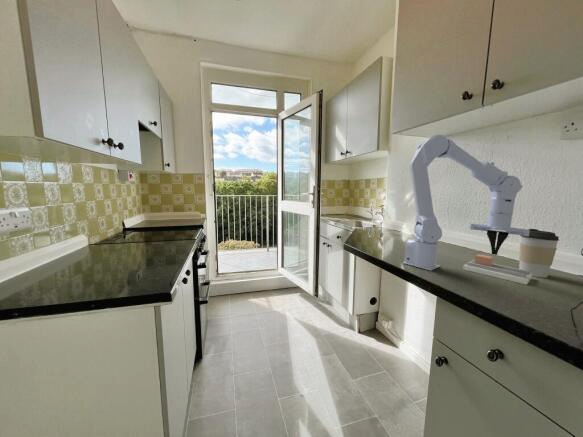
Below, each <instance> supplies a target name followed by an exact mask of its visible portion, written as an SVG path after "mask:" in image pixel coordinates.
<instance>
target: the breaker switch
mask: <svg viewBox="0 0 583 437" xmlns="http://www.w3.org/2000/svg"><path fill="white" fill-rule="evenodd" d="M474 260H475V263H476V264H481V265H485V266H490V267H492V264H494V263H493V262H494V256H489V255H484V254H477V255H475V259H474Z"/></svg>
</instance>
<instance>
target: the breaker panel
mask: <svg viewBox="0 0 583 437" xmlns="http://www.w3.org/2000/svg"><path fill="white" fill-rule="evenodd" d="M462 269H463V270H465V271H468V272H473V273H475V274H481V275H484V276H489V277H493V278H497V279H502V280H506V281H511V282H514V283H519V284H523V285H525V286H526V285H528V284H529V283H530V281H531V280H532V278H533V276H532V274H530V271H526V270H521V269H519V268H516V267H511V266H506V265H501V264H498V263H497V264H496V263H492V267H490V266H485V265H481V264H476V263H475V259H471V261H467V262H466V263H464V264H463V267H462Z"/></svg>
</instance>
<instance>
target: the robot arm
mask: <svg viewBox="0 0 583 437" xmlns="http://www.w3.org/2000/svg"><path fill="white" fill-rule="evenodd" d="M437 158H438V159H441V158H443V159H445V158H446V159H447V158H448V159H451V160H453V161H454V162H456V163H458V164H460V165H461V166H463V167H464V168H467V169H468V170H470V173H471V176H472V177H473V178H474V179H476V180H478V181H480V182H481V183H482V184H484V185H486V186H487V187H488V189H489V191H490V192H491V193H492V194H491V200H490V206H489V212H488V213H489V214H488V220H487V224H480V223H470V228H469V230H471V231H472V230H473V231H474V230H475V231H481V232H482V231H483V232H486V235H487V238H488V240H489V244H490V248H491V255H493V256H497V255H498V253H499V250H500V248H501V247H502V245H503V244H504V242H505V240H507V239H508V237H509V235H518V236H520V235H523V236H529V232H530V230H528V228H527V229H525V228H518V227H511V226H512V219H513V214H514V208H515V207H514V206H515V201H516V198H517V195H518V193H519V192H521V190H522V188H523V184H522V183H521V180H520V178H519V177H517V176H515V175H508V172H507V171H506V170H501V169H500V168H499V167H497V166H495V164H496V163H494V162H493V161H486V160H485V161H479V160H478V159H477V158H475V157H474V156H473V155H471V154H470V153H469V152H467V151H466V150H464V149H463V148H461V147H460V146H459V145H457V144H456V142H454V141H453V139H450V138H447V137H446V136H445V135H443V134H435V135H432V136H431V137H429V138H428V139H426V140H425V141H423V142H422V143H421V144H420V145H419V146H418V147H417V148H416V149H415V153H414V154H413V157H412V159H411V161H410V163H409V168H410V169H409V171H410V177H411V183H412V190H413V197H414V204H415V210H416V217H415V224H414V228H413V230H414V234H415V235H416V236H415V237H414V238H410V239H408V240H407V242H406V244H405V252H404V261H403V262H402V263H403V264H405V265H409V266H412V267H417V268H419V269H424V270H427V271H433V270H435V269H438V268H441V265H440V264H437V257H438V255H437V254H438V248H439V247H438V246H439V240H440V239H441V238H442V236H443V230H442V228H441V227H440V226H439V223H438V219H437V217H436V216H435V213H434V207H433V200H432V193H431V192H432V191H431V186H430V179H429V172H428V167H429V166H430V164H431V163H432V162H434V160H435V159H437Z"/></svg>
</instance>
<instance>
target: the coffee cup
mask: <svg viewBox="0 0 583 437" xmlns="http://www.w3.org/2000/svg"><path fill="white" fill-rule="evenodd" d="M527 230H530V232H529V236H523V235H519V236H520V243H519V257H518V258H519V259H518V260H519V265H518V266H519V267H518V269H521V270H526V271H530V274H532V277H535V278H545V279H546V278H548V276H549V272H550V269H551V266H552V265H553V262H554V259H555V255H556V252H557V245H558V242H559V241H560V239H559V236H558V235H556V233H555V232H552V231H544V230H539V229H536V228H527Z"/></svg>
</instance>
